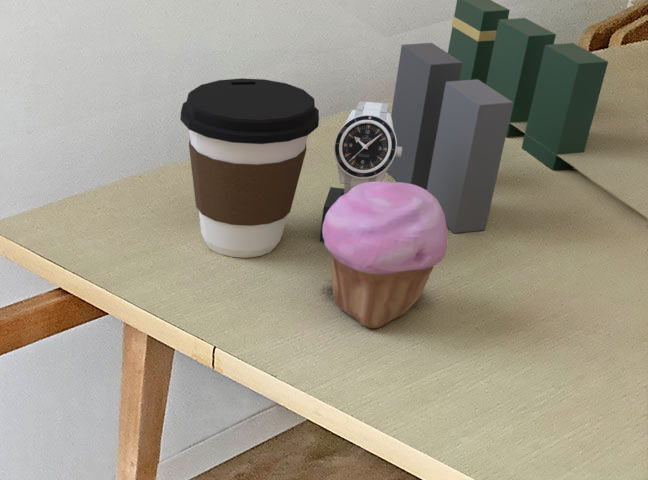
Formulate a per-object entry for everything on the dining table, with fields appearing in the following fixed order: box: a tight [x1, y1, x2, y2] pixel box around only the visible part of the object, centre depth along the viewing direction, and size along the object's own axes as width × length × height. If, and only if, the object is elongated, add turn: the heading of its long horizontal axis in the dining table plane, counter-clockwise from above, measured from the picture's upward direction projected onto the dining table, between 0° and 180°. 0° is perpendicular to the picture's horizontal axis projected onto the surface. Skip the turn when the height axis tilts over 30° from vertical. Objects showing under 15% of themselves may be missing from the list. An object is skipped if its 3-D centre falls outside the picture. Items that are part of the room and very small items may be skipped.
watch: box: [319, 100, 402, 243], centre depth 89 cm, size 6×8×11 cm
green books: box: [486, 17, 609, 171], centre depth 107 cm, size 15×3×10 cm, turn 14°
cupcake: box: [322, 181, 448, 329], centre depth 79 cm, size 9×9×10 cm
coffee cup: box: [179, 77, 320, 259], centre depth 87 cm, size 11×11×12 cm
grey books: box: [386, 42, 513, 234], centre depth 95 cm, size 15×3×12 cm, turn 14°
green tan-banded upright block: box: [447, 0, 510, 84], centre depth 118 cm, size 6×3×10 cm, turn 14°
